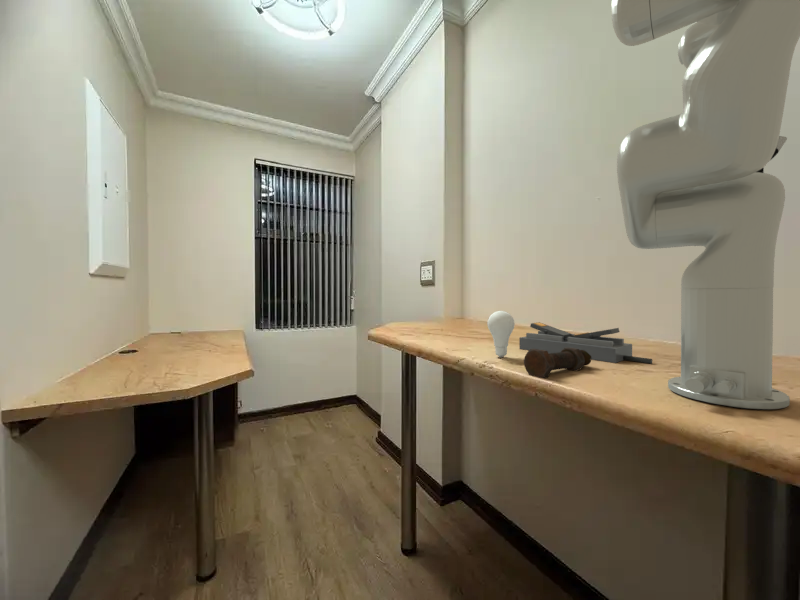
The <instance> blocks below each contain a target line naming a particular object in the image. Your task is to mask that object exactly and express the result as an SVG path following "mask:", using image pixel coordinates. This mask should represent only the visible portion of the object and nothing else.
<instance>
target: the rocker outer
mask: <svg viewBox="0 0 800 600" xmlns="http://www.w3.org/2000/svg"><path fill="white" fill-rule="evenodd" d="M529 327H530V328H532V329H535V330H536V331H542V332H544V333H545V334H550V335H555V336H563V339H565V338H568V337H571V334H572V333H571V332H569V331H565V330H562V329H560V328H556V327H553V326H551V325H548V324H546V323H542V322H540V321H539V322H532V323H530V326H529Z"/></svg>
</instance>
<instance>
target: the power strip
mask: <svg viewBox="0 0 800 600" xmlns="http://www.w3.org/2000/svg"><path fill="white" fill-rule="evenodd" d="M525 335H526V336H522V337H519V339H518V340H519V341H518V343H519V350H526V351H529V350H530V349H539V350H545V351H548V353H557V352H561V351H562V349H563V348H566V347H569V348H577V349H579V350H585V351H586V352H587V353H588V354H590V355H591V357H592V358H591V359H590V360H591V361H592V360H593V361H599V362H600V361H601V362H605V363H606V362H607V363H613V364H614V363H615V364H617V363H620V362H622V361H627V362H629V361H630V362H637V363H643V364H653V358H649V357H640V356H633V344H632V343H628V342H627V343H626V342H625V339H624V338H619V337H611V336H610V337H609V336H608V337H607V336H600V337H596V338H574V337H568V338H565V339H563V336H555V335H550V334H545V333H544V332H542V331H540V330H537V333H534V332H533V333H532V332H526V334H525ZM574 335H576V334H575V333H571V336H574Z"/></svg>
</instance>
